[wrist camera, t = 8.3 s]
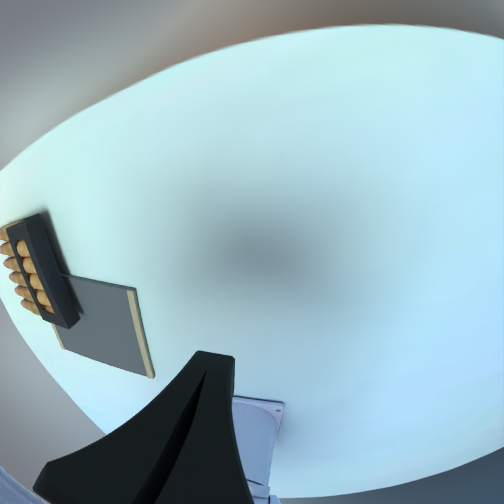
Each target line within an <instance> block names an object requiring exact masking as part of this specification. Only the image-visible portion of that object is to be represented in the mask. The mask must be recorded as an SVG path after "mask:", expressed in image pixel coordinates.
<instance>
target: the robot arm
mask: <svg viewBox="0 0 504 504" xmlns="http://www.w3.org/2000/svg"><path fill="white" fill-rule="evenodd" d="M234 377H235V358H233V357H232V356H229V355H222V354H216V353H211V352H205V351H199V350H198V351H197V352H195V354H194V355H193V356H192V358H191V359H190V360H189V361H188V363H187V364H186V365H185V366H184V368H183V369H182V370H181V371H180V372H179V373H178V374H177V376H176V377H175V378H174V379H173V380H172V381H171V382H170V383H169V384H168V385H167V386H166V387H165V388H164V389H163V390H162V391H161V392H160V393H159V394H158V395H157V396H156V397H155V398H154V399H153V400H152V401H151V402H150V403H149V404H148V405H147V406H145V407H144V408H143V409H142V410H141V411H140V412H138V413H137V414H136V415H135V416H133V417H132V418H131V419H130V420H128V421H127V422H126V423H124V424H123V425H121V426H120V427H118V428H117V429H115V430H114V431H112V432H111V433H109V434H108V435H106V436H105V437H103V438H102V439H99V440H98V441H96V442H94V443H92V444H90V445H88V446H86V447H84V448H82V449H80V450H78V451H76V452H74V453H71V454H69V455H66V456H63V457H61V458H58V459H56V460H53V461H50V462H47V464H46V465H45V467H44V468H43V469H42V471H41V473H40V475H39V476H38V478H37V480H36V482H35V484H34V486H33V491H34V492H35V493H37V494H38V495H39V496H41V497H42V498H43V499H45V500H46V501H48V502H49V503H51V504H281V502H280V500H279V499H278V498H277V496H276V495H269V491H270V487H268V482H269V475H270V468H271V460H272V453H273V445H274V443H275V440H276V436H277V433H278V429H279V425H280V422H281V418H282V414H283V410H284V405H283V404H282V403H276V402H267V401H259V400H252V399H245V398H238V397H233V393H234ZM0 504H47V503H46V502H44V501H43V500H41V499H40V498H38V497H37V496H36V495H34V494H33V493H32V492H30V491H29V490H27V489H26V488H25V487H23V486H22V485H21V484H20V483H18V482H17V481H16V480H15V479H13V478H12V477H11V476H10V475H9V474H7V473H6V472H5V470H4V469H3V468H2V467H1V466H0Z"/></svg>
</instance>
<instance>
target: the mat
mask: <svg viewBox="0 0 504 504" xmlns="http://www.w3.org/2000/svg"><path fill="white" fill-rule="evenodd" d="M61 275H62V278H63V280H64V283H65V285H66V287H67V290H68V292H69V294H70V297H71V299H72V301H73V303H74V305H75V307H76V310H77V312H78V314H79V316H80V318H81V319H80V320H79V321H78V322H77V323H76V324H75V325H74V326H73V327H72V328H71V329H69V330H68V329H66V328H63V327H60V326H58V325H55V324H53V323H51V324H52V326H53V329H54V331H55V334H56V336H57V338H58V341H59V343H60V345H61V347H62V349H67V350H69V351H72V352H74V353H77V354H79V355H82V356H85V357H88V358H90V359H93V360H96V361H99V362H102V363H105V364H108V365H111V366H114V367H117V368H120V369H123V370H126V371H130V372H133V373H137V374H140V375H144V376H147V377H148V378H152V379H154V377H155V373H154V370H153V366H152V362H151V358H150V354H149V350H148V346H147V342H146V337H145V333H144V329H143V324H142V319H141V314H140V309H139V304H138V299H137V294H136V288H131V287H126V286H121V285H115V284H110V283H105V282H100V281H96V280H91V279H86V278H81V277H77V276H72V275H68V274H63V273H61Z"/></svg>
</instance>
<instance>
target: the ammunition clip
mask: <svg viewBox="0 0 504 504" xmlns="http://www.w3.org/2000/svg"><path fill="white" fill-rule="evenodd" d="M0 240H4V241H9V242H8V243H5V244H2V245H1V246H0V253H1V254H5V255H9V256H12V257H13V258H8V259H6V260H5V261H4V263H3V264H4V266H5V267H7V268H9V269H13V270H14V271H17V272H13V273H11V274H10V275H9V278H10V280H11V281H13V282H15V283H18V284H19V285H21V286H18V287H16V288H15V292H16V293H17V294H18V295H20V296H22V297H24V298H26V299H24V300H22V301H21V305H22V306H23V307H24V308H26V309H28V310H30V311H31V312H33V313H34V314H37V315H40V316H41V317H42V319H43V320H45V321H48V322H50V323H53V324H55V325H58V326H60V327H63V328H66V329H68V330H69V329H71V328H72V327H73V326H74V325H75V324H76V323H77V322H78V321H79V320H80V319H81V318H80V316H79V314H78V312H77V310H76V307H75V305H74V303H73V301H72V299H71V297H70V294H69V292H68V290H67V287H66V285H65V283H64V280H63V278H62V275H61V273H60V270H59V268H58V265H57V263H56V260H55V257H54V255H53V252H52V249H51V246H50V243H49V240H48V237H47V234H46V231H45V228H44V225H43V222H42V218H41V215H40V214H36V215H33V216H31V217H28V218H26V219H23V220H21V221H18V222H16V223H12V224H9V225H5V226H3V227H2V228H0Z"/></svg>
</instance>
